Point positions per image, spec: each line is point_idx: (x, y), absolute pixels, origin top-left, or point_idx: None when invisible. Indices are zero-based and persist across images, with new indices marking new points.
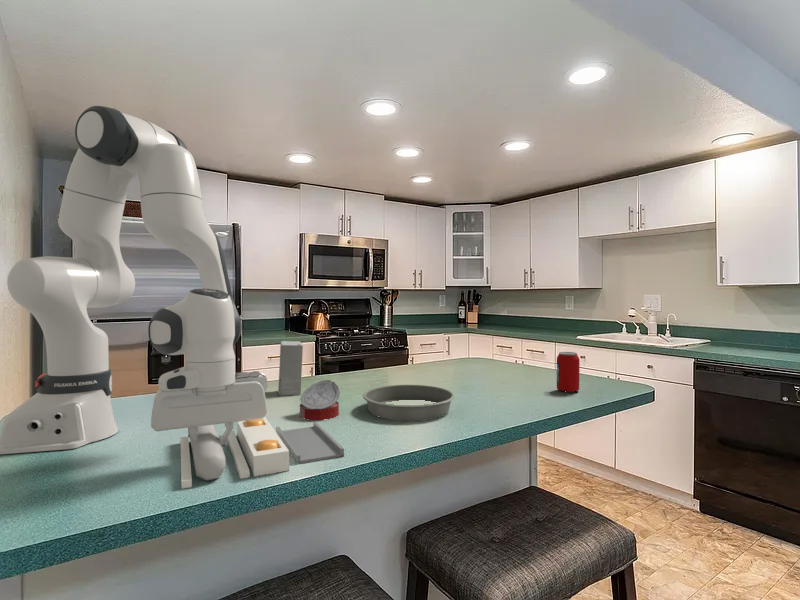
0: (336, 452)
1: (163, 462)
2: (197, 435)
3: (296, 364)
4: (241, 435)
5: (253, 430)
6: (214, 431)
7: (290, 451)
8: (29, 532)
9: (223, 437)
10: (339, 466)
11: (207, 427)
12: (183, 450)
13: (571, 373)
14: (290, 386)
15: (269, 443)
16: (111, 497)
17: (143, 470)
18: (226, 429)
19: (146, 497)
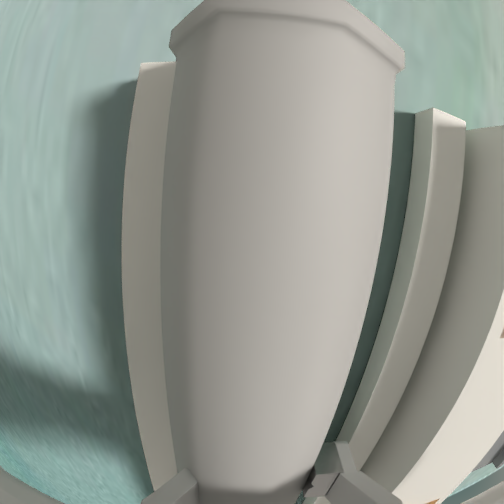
0: (496, 454)
1: (79, 349)
2: (195, 490)
3: None
4: (453, 356)
5: (484, 404)
6: (330, 400)
7: None
8: (8, 468)
9: (324, 495)
10: (454, 490)
11: (287, 412)
12: (139, 352)
13: None
14: None
15: None
16: (45, 461)
17: (41, 379)
18: (359, 500)
19: (106, 497)
